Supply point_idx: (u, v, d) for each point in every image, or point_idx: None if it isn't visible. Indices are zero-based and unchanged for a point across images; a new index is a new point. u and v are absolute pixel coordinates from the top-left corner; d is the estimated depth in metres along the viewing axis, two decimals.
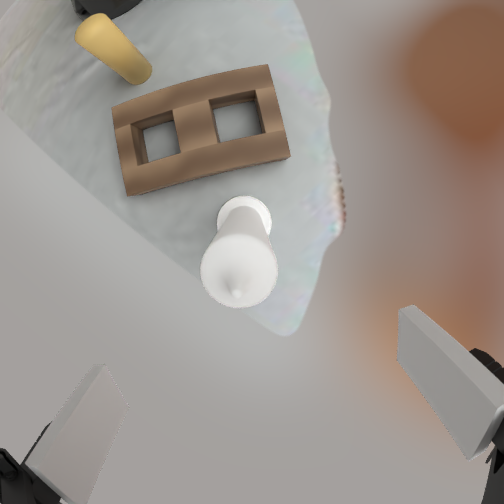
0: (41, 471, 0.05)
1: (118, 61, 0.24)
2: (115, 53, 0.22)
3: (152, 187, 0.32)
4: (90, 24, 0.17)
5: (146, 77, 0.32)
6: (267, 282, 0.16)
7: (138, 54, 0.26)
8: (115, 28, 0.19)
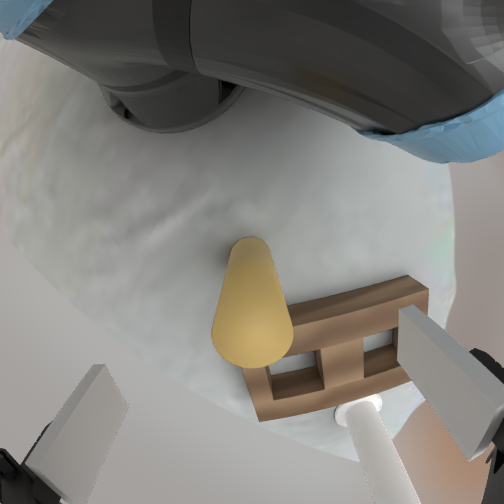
0: (41, 471, 0.05)
1: None
2: None
3: (289, 415, 0.28)
4: (249, 324, 0.13)
5: None
6: None
7: None
8: None
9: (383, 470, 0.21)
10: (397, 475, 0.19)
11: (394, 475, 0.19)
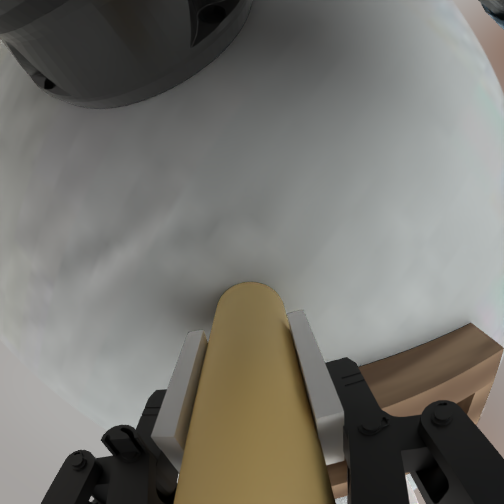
0: (176, 439, 0.06)
1: None
2: None
3: None
4: None
5: None
6: None
7: None
8: None
9: None
10: None
11: None
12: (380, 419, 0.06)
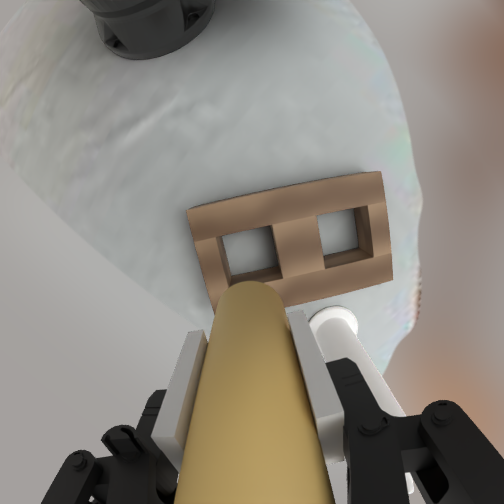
0: (176, 439, 0.06)
1: None
2: None
3: None
4: None
5: None
6: None
7: None
8: None
9: None
10: (375, 384, 0.21)
11: (371, 384, 0.21)
12: (380, 419, 0.06)
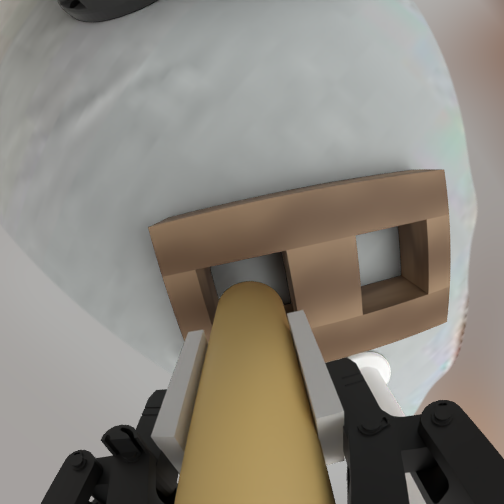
0: (176, 439, 0.06)
1: None
2: None
3: None
4: None
5: None
6: None
7: None
8: None
9: None
10: None
11: None
12: (380, 419, 0.06)
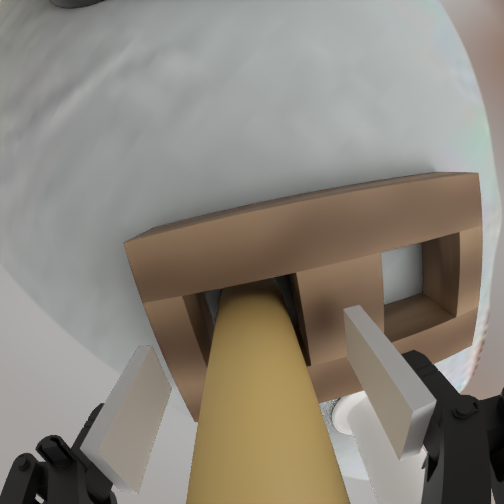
0: (100, 454, 0.06)
1: None
2: None
3: None
4: None
5: None
6: None
7: None
8: None
9: None
10: None
11: None
12: (472, 404, 0.05)
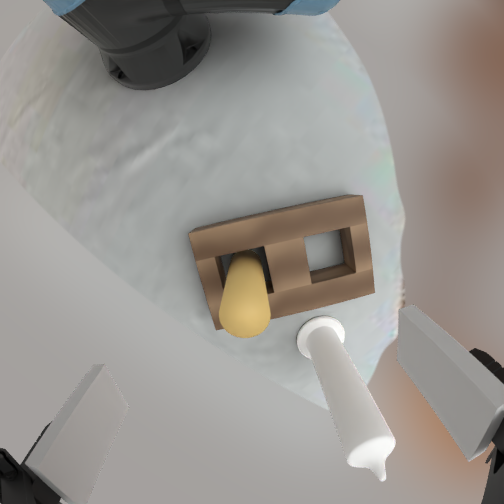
0: (41, 471, 0.05)
1: None
2: None
3: None
4: (242, 307, 0.21)
5: None
6: (388, 454, 0.17)
7: None
8: (268, 302, 0.23)
9: (339, 381, 0.26)
10: (354, 385, 0.24)
11: (351, 385, 0.24)
12: None
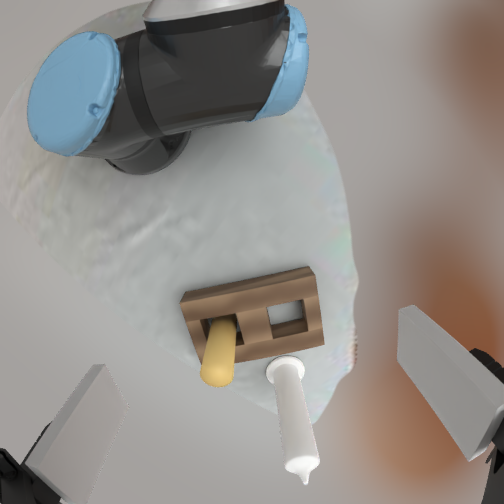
0: (41, 471, 0.05)
1: None
2: None
3: None
4: (214, 370, 0.31)
5: None
6: (314, 467, 0.27)
7: (235, 335, 0.40)
8: (233, 364, 0.33)
9: (288, 411, 0.36)
10: (297, 416, 0.34)
11: (295, 416, 0.34)
12: None
